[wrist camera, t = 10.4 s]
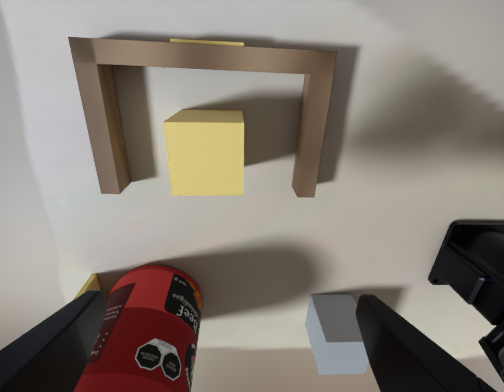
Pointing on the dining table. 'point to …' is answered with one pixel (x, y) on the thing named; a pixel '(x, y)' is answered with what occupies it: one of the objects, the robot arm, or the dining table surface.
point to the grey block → (335, 334)
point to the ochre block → (205, 152)
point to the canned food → (146, 334)
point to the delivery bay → (197, 57)
